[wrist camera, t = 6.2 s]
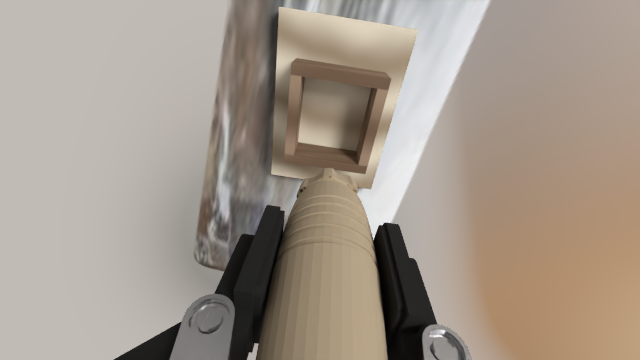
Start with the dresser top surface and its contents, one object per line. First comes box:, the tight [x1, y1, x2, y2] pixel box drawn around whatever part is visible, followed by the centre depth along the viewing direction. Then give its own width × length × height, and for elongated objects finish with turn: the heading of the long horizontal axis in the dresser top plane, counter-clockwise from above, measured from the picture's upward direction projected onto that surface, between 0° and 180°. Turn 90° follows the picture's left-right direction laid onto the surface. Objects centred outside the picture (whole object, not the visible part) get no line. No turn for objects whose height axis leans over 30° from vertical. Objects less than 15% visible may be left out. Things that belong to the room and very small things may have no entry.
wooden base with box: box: [271, 7, 418, 189], centre depth 27 cm, size 18×13×5 cm
